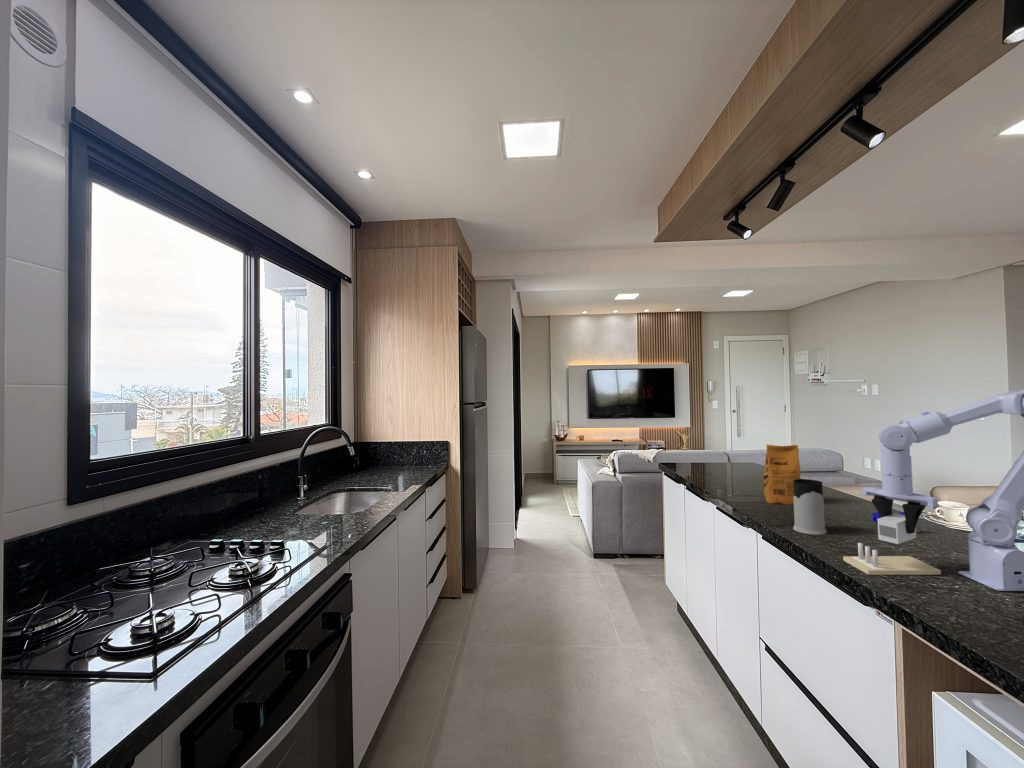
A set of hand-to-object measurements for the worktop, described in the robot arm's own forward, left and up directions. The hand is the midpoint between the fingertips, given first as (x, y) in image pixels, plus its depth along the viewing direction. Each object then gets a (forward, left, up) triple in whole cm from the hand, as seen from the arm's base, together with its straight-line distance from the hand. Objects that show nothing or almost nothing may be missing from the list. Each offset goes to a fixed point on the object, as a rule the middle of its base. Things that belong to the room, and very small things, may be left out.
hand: (899, 530), depth 110 cm
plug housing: (+1, -2, -2) cm, 3 cm away
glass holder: (+32, +5, -9) cm, 33 cm away
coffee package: (+64, -4, -9) cm, 65 cm away
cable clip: (+32, -21, -9) cm, 39 cm away
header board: (0, +3, -9) cm, 9 cm away
